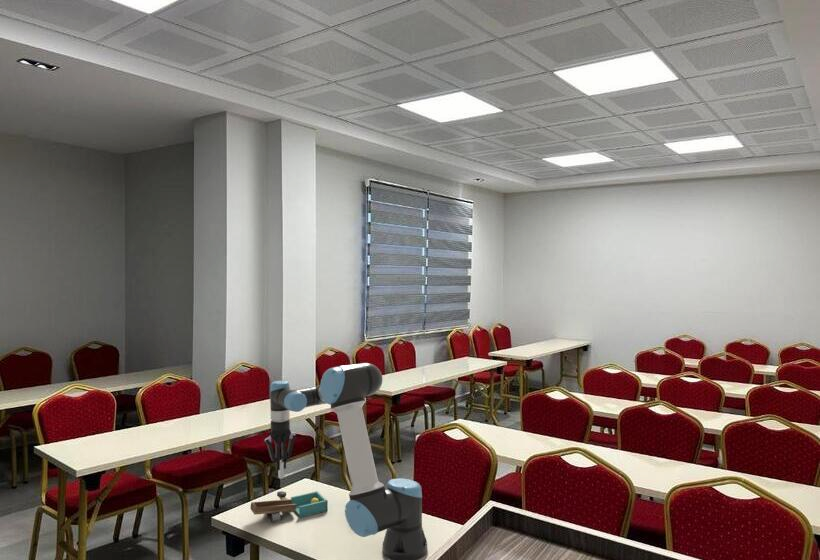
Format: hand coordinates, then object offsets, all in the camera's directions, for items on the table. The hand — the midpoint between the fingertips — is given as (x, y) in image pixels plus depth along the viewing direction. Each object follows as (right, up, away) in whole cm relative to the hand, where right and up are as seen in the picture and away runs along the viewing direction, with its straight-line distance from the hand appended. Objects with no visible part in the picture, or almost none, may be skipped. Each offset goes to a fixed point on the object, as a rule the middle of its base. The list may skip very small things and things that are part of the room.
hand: (281, 477), depth 226 cm
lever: (-2, -9, -9) cm, 13 cm away
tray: (+13, -10, -6) cm, 17 cm away
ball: (+15, -8, -5) cm, 17 cm away
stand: (0, -11, -14) cm, 17 cm away
